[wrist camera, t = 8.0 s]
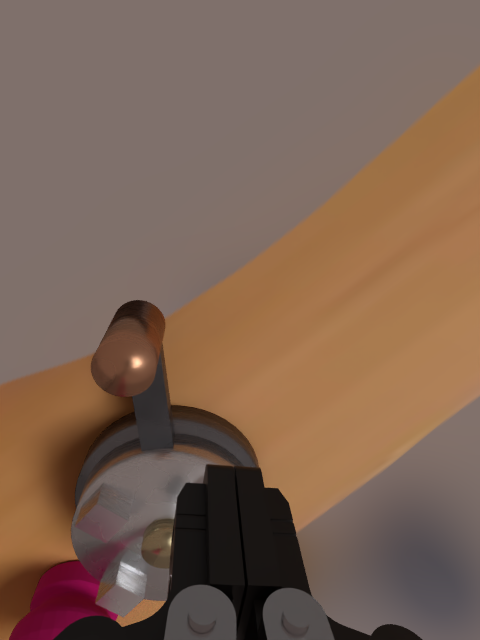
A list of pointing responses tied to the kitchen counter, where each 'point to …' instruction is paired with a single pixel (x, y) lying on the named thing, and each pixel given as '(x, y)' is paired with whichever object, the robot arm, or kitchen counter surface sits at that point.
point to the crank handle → (137, 469)
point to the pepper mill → (60, 602)
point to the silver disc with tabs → (184, 423)
